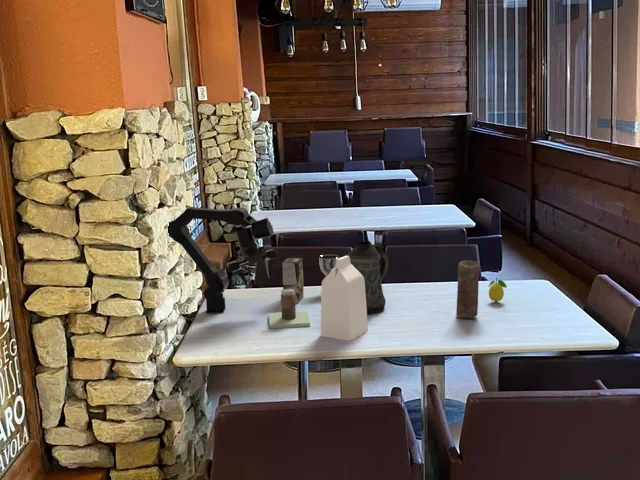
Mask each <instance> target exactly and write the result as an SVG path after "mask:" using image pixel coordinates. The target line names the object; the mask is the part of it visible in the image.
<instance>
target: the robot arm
mask: <svg viewBox="0 0 640 480" xmlns="http://www.w3.org/2000/svg"><path fill="white" fill-rule="evenodd" d="M193 220H205V221H207V220H209V221H219V222H224V223H225V224H228V225H232V228H231V230H230V231H229V233H230V234H234V233H235V234H236V238H237V242H238V246H239V249H240V252H241V255H242V258H243V260H239V261H238V260H237V259H236V260H232V261H230V262H227V263H226V265H225V267H226V270H227V271H228V272H230V273H234V274H236V275H237V276H238V278H240V280H241V281H242V283H243V284H244V286H245V287H248V282H247V280H246V278H245V275H244V272H243V269H241V267H243V266H245V265H249V264H250V265H255V264H256V263H261V262H263V260H264V264H265V269H266V272H267V277H268V279H271V278H272V265H273V262H274V261H276V258H278V257H279V254H278V251H277V250H276V249H274V248H270V249H267V250H266V248H265V246H259V247H258V246H257V243H256V241H255V238H256V239H257V240H260V239H266V238H268V237H273V235H274V227H273V225H272V223H271V221H270V220H269V218H268V217H264V218H263V219H259V220H257V219H255V218H254V216H252V215H250V213H249V211H248V210H247V208H245V207H233V208H228V209H217V208H216V209H215V208H206V207H205V208H203V207H195V206H190V207H187V208H186V209H185V210H184V211H183V212H182V213H181V214H180V215H179V216H177V217H176V218H175V219H173V220H171V221H169V222H168V223H169V226H168V233H169V235H168V236H169V237H170V239H172V240H173V241H175V242H176V243H177V244H179V245H181V247H182V248H183V249H184V250H185V252H186V254H188V256H189V257H190V259H191V260H192V261H193V262H194V264H195V265H196V266H197V268H198V269H199V270H200V272H202V274H203V276H204V280H205V283H206V285H207V288H206V289H205V290H204V291H203V292H202V294H203V296H204V298H205V301H206V305H205V306H206V313H205V314H219V313H220V314H221V313H224V312H225V310H226V297H224V293H225V290H227V288H228V287H229V285H230V279H229V278H228V277H229V275H228V274H227V273H226V272H225V271H224V269H223V268H222V267H220V268H219V269H218V268H216V267H215V266H214V265H213V264H212V263H211V261H210V260H209V259H208V257H207V256H206V255H205V253H204V252H203V251H202V249H201V247H199V245H198V244H197V243H196V242H195V240H194V239H193V238H192V235H191V232H190V229H189V227H188V225H189V224H190V223H192V221H193Z"/></svg>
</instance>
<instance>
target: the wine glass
mask: <svg viewBox="0 0 640 480" xmlns="http://www.w3.org/2000/svg"><path fill="white" fill-rule="evenodd" d="M339 258H340V256H339V255H337V254H322V255H319V257H318V260H319V262H318V263H319V267H320V271H321V273H323V274H324V276H325V277H326V276H327V275H328V274H329V273H330V272H331V270H332V269H333V268H334V267H335V265H336V261H337V259H339Z"/></svg>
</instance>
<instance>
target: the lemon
mask: <svg viewBox="0 0 640 480" xmlns="http://www.w3.org/2000/svg"><path fill="white" fill-rule="evenodd" d="M495 278H496V279H495V280H491V281H490V282H489V284H488V288H489V289H488V297H489V299H490V300H491V301H493V302H494V303H498V302H499V301H501V300H503V298H504V295H505V291H504V289H505V288H508V287H507V284H506V283H505V281H503V280H502V279H498V277H495Z"/></svg>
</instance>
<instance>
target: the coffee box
mask: <svg viewBox="0 0 640 480" xmlns="http://www.w3.org/2000/svg"><path fill="white" fill-rule="evenodd" d="M281 264H282V268H281V269H282V290H284V289H293V290H294V294H295V304H299V303H300V302H301V301H302V300H303V298H304V297H305V295H304V292H305V291H304V268H303V267H304V266H303V257H287V258H286V259H285V260H284V261H282V263H281Z"/></svg>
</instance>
